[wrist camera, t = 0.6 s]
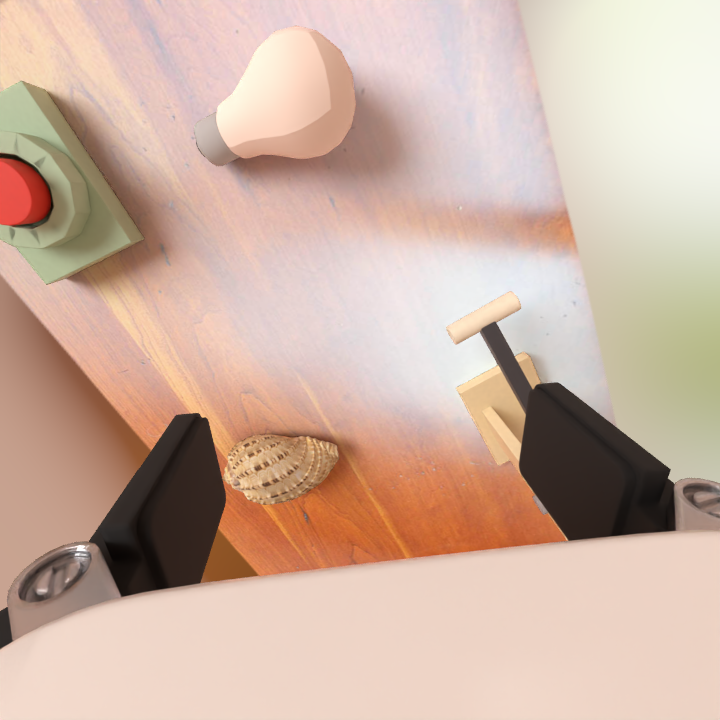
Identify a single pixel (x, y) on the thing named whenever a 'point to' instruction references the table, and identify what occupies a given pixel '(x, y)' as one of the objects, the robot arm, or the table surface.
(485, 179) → the table surface
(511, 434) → the bracket
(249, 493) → the seashell
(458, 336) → the lever
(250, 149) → the light bulb
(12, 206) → the button
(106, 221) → the control block
